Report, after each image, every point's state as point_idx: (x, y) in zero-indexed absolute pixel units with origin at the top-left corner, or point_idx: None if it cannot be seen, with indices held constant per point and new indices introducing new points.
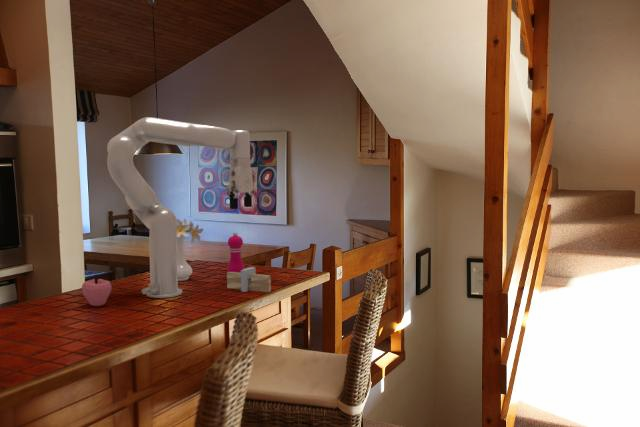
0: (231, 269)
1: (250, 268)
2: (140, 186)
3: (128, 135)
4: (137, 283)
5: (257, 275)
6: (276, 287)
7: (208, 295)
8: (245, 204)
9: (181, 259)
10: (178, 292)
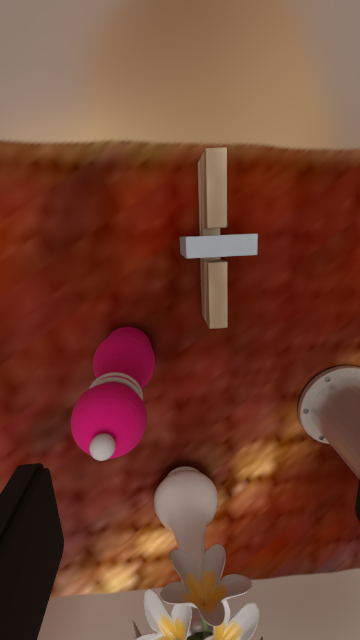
0: (153, 362)
1: (212, 241)
2: None
3: None
4: (263, 527)
5: (226, 197)
6: (138, 180)
7: (310, 303)
8: (51, 560)
9: (198, 525)
10: (344, 369)
